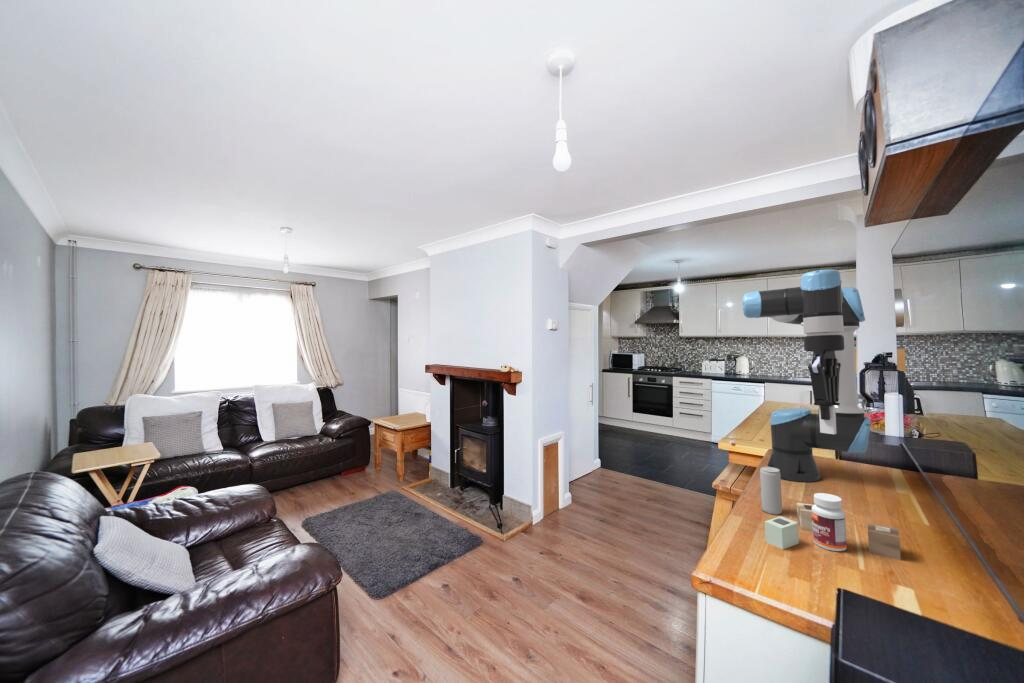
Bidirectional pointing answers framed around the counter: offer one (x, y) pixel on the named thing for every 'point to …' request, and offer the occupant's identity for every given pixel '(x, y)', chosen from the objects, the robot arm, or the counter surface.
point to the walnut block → (884, 541)
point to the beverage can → (771, 490)
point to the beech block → (804, 516)
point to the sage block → (781, 532)
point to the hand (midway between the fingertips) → (828, 432)
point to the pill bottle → (828, 522)
